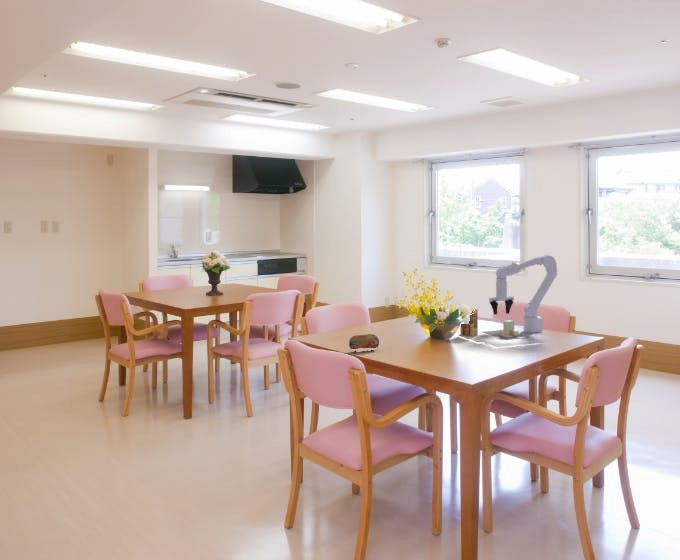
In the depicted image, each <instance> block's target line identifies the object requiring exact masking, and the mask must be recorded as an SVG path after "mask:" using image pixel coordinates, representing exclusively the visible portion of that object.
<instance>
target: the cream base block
mask: <svg viewBox="0 0 680 560" xmlns="http://www.w3.org/2000/svg"><path fill="white" fill-rule="evenodd" d="M499 330H500V336H503V337H506V338H509V337H519V335H520V333H519V330H517V329H514V331H505V330H503V329H499Z"/></svg>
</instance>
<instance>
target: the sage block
mask: <svg viewBox="0 0 680 560" xmlns="http://www.w3.org/2000/svg"><path fill="white" fill-rule="evenodd" d="M502 322H503V323H502V324H503V325H502V326H503V327H502V330H505V331H514V330H515V321H514V320H509V319H508V320H503V321H502Z"/></svg>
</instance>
